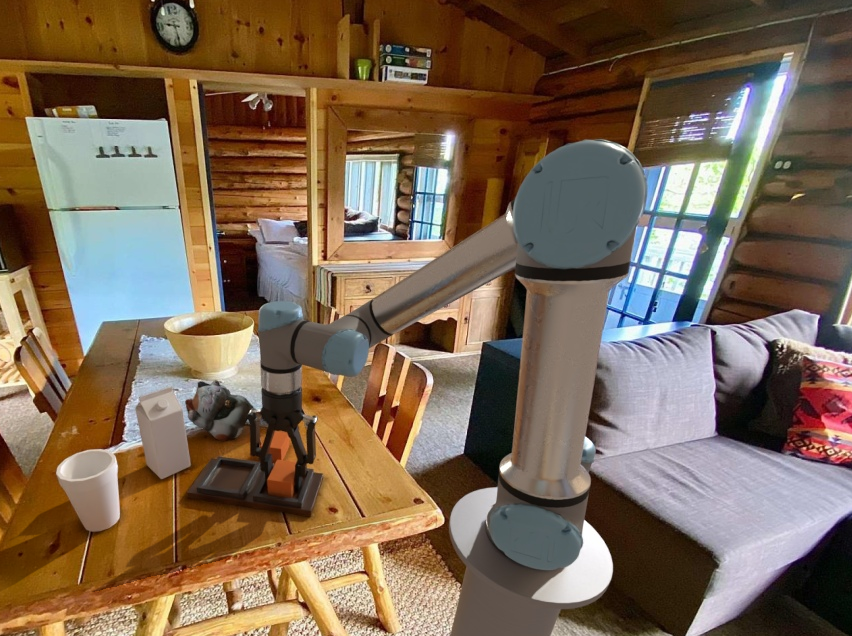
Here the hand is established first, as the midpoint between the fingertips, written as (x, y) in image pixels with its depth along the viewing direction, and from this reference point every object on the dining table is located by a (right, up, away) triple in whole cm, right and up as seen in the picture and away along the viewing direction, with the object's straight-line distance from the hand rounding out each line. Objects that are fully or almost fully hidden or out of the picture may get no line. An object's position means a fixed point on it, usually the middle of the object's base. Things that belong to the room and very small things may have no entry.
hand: (283, 484), depth 92 cm
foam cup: (-34, -5, -8) cm, 35 cm away
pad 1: (-3, +5, +13) cm, 14 cm away
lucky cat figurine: (-18, +10, +22) cm, 30 cm away
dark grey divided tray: (-6, -1, +2) cm, 6 cm away
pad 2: (0, 0, 0) cm, 0 cm away
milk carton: (-27, +2, +8) cm, 28 cm away
